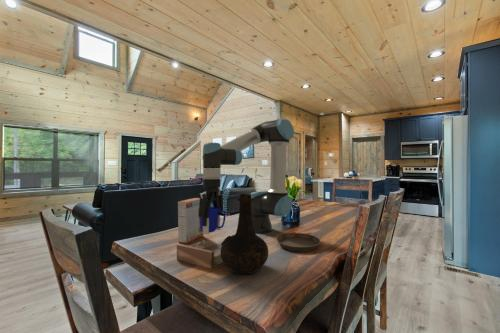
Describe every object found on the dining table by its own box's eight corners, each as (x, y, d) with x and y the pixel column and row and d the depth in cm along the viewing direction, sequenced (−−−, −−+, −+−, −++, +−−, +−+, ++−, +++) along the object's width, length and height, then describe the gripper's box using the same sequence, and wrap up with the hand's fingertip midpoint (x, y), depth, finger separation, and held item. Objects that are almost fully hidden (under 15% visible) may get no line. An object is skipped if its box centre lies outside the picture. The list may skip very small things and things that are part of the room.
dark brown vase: (225, 258, 99) (225, 191, 99) (269, 260, 97) (268, 191, 97) (215, 278, 81) (215, 196, 81) (267, 281, 80) (267, 197, 80)
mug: (222, 235, 99) (222, 210, 99) (195, 233, 101) (195, 209, 101) (228, 229, 107) (228, 207, 107) (203, 228, 109) (203, 206, 109)
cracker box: (195, 235, 133) (195, 197, 133) (203, 236, 130) (203, 198, 130) (177, 242, 120) (177, 200, 120) (186, 244, 118) (186, 201, 118)
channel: (203, 247, 113) (203, 234, 113) (236, 254, 104) (236, 240, 104) (176, 259, 98) (176, 244, 98) (211, 268, 89) (211, 252, 89)
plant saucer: (311, 257, 102) (311, 249, 102) (269, 247, 113) (269, 240, 113) (325, 243, 119) (325, 237, 119) (287, 237, 130) (287, 231, 130)
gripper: (218, 177, 114) (218, 225, 114) (189, 179, 97) (188, 235, 97) (231, 177, 111) (231, 227, 111) (203, 179, 93) (203, 238, 93)
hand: (211, 231), depth 104 cm, fingers closed on mug, 7 cm apart
